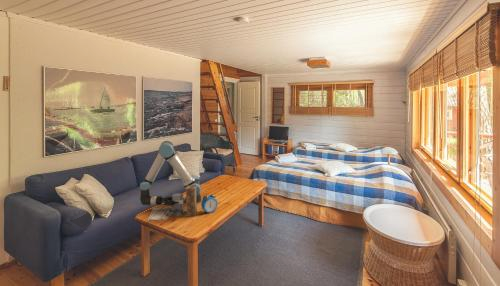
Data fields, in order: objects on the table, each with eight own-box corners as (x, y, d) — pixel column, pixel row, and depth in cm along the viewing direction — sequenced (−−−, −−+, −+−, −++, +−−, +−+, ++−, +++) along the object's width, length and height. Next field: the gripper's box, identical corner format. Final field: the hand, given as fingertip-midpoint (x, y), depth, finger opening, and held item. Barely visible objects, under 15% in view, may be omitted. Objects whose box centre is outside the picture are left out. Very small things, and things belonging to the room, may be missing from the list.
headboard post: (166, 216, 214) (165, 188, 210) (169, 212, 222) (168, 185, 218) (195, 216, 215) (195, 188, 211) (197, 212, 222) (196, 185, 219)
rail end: (172, 210, 225) (172, 195, 222) (174, 208, 229) (173, 193, 227) (182, 210, 225) (181, 195, 223) (183, 208, 229) (183, 193, 227)
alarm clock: (203, 214, 218) (203, 197, 215) (200, 212, 223) (200, 195, 220) (217, 211, 225) (217, 194, 223) (214, 208, 230) (214, 192, 228)
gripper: (160, 200, 235) (186, 200, 236) (153, 209, 216) (181, 209, 217) (160, 192, 234) (186, 192, 235) (152, 200, 215) (180, 200, 216)
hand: (183, 200), depth 226 cm, fingers open, 6 cm apart
